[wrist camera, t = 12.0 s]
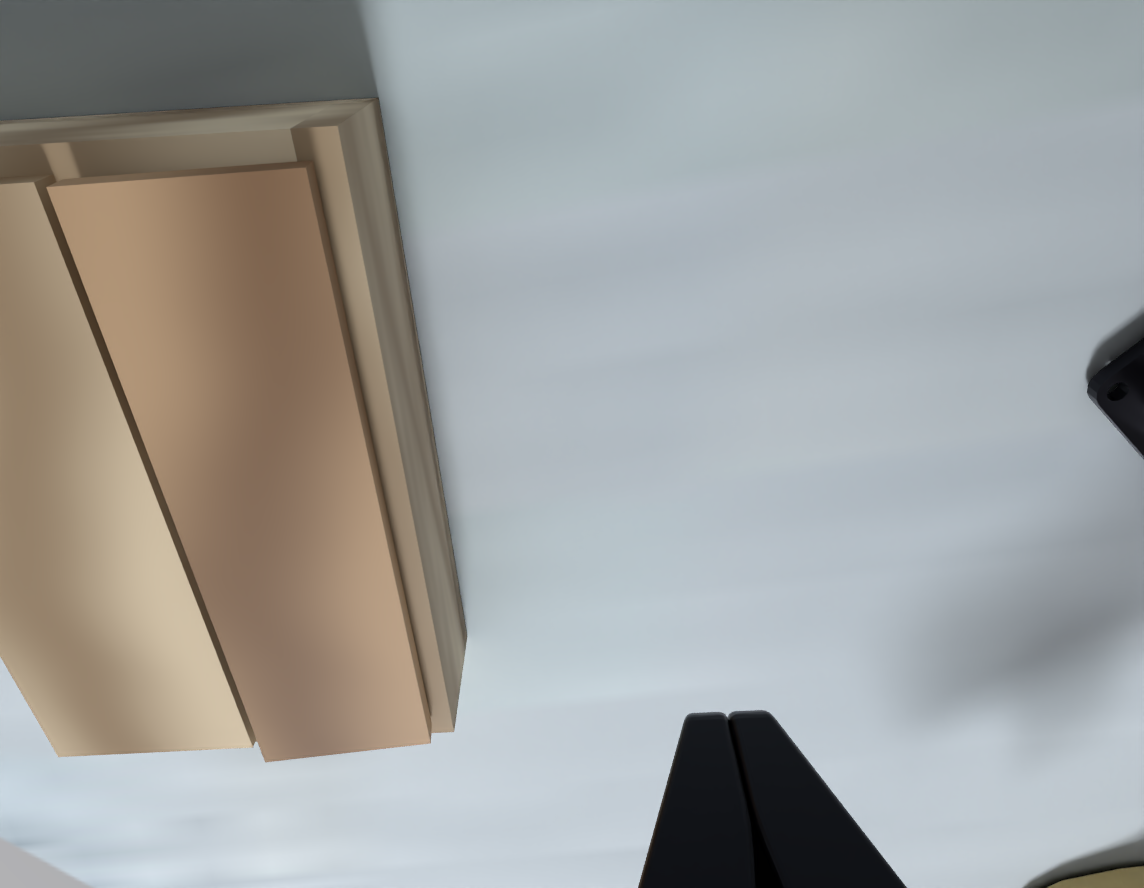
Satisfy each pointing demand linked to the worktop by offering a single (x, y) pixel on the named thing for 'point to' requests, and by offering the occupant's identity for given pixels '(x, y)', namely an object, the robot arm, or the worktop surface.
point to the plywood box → (120, 460)
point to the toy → (1107, 879)
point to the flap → (257, 440)
